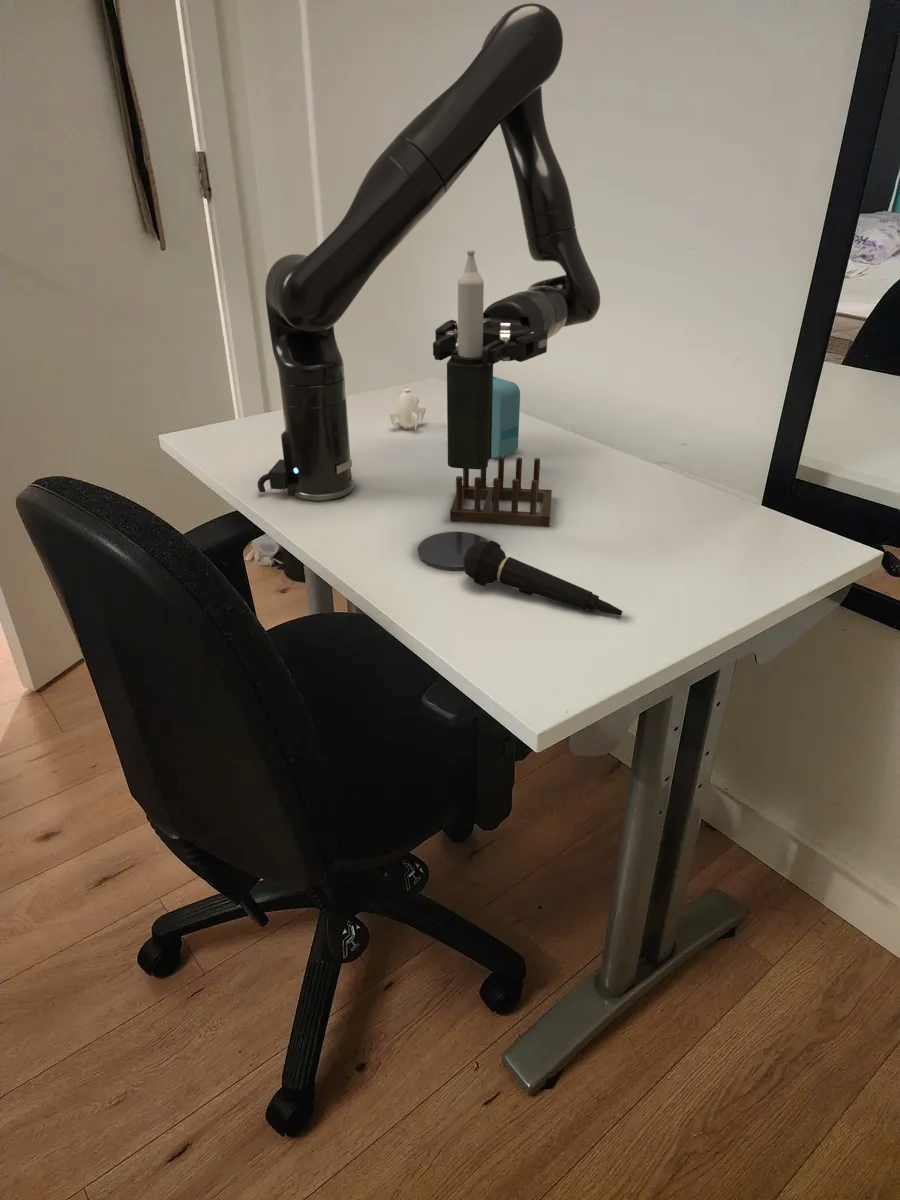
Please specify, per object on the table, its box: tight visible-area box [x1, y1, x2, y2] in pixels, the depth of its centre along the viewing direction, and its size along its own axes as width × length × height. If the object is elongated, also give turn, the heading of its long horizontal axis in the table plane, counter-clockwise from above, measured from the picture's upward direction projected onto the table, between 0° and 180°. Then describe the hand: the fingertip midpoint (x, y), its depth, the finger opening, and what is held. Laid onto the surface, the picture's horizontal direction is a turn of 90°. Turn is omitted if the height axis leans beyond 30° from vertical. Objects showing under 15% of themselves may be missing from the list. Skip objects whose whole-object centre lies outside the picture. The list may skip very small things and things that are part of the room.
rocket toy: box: [388, 387, 427, 431], centre depth 146 cm, size 5×5×8 cm
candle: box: [446, 247, 494, 471], centre depth 95 cm, size 5×5×25 cm
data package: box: [491, 376, 521, 459], centre depth 135 cm, size 12×4×12 cm, turn 41°
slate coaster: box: [417, 531, 490, 572], centre depth 105 cm, size 10×10×1 cm
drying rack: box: [449, 456, 553, 528], centre depth 115 cm, size 14×9×6 cm
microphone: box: [463, 539, 623, 617], centre depth 94 cm, size 6×6×20 cm
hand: (461, 354), depth 92 cm, fingers closed on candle, 5 cm apart
